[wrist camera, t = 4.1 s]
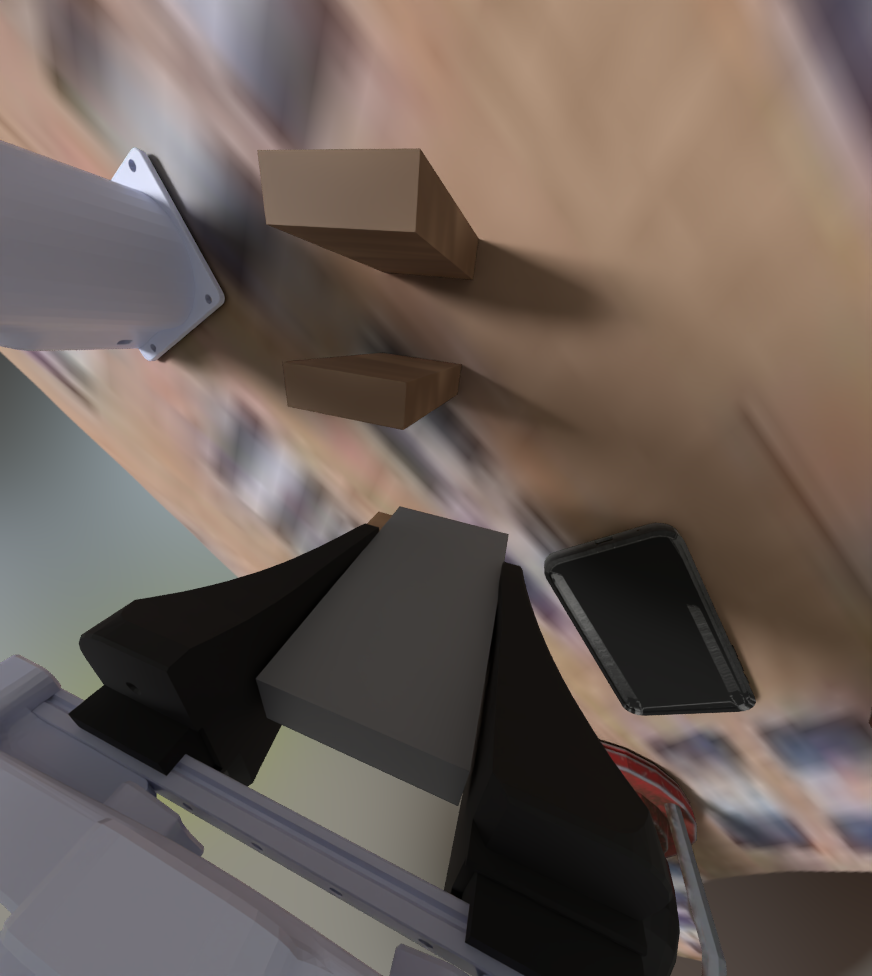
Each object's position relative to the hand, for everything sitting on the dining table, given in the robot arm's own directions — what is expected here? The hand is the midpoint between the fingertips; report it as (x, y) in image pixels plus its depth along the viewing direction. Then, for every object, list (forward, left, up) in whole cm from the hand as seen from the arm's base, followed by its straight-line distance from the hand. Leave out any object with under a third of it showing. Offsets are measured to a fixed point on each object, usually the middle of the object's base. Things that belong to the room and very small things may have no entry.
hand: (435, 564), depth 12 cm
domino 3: (0, 0, -2) cm, 2 cm away
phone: (+7, -14, -10) cm, 18 cm away
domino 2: (-1, +7, -9) cm, 11 cm away
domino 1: (+2, +12, -9) cm, 15 cm away
